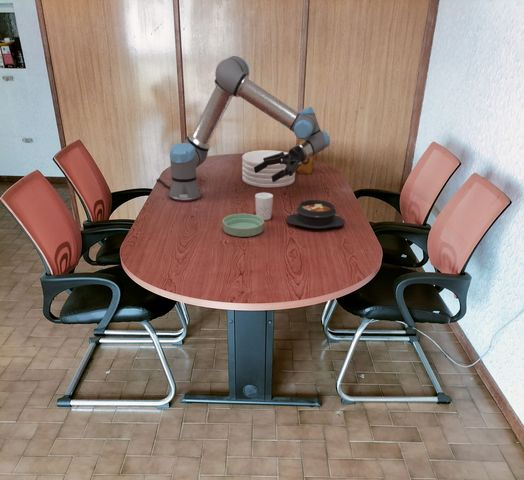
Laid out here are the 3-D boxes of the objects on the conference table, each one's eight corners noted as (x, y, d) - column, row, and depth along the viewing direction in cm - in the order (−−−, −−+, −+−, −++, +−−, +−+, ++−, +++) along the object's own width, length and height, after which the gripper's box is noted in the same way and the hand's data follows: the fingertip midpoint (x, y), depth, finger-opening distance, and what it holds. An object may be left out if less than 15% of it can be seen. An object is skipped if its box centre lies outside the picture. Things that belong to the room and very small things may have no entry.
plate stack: (304, 177, 281) (305, 155, 275) (277, 190, 262) (278, 167, 255) (260, 168, 293) (260, 147, 287) (231, 180, 274) (231, 158, 267)
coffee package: (295, 174, 286) (297, 131, 274) (294, 167, 296) (296, 126, 284) (313, 174, 286) (316, 132, 274) (311, 168, 296) (314, 127, 284)
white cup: (270, 221, 227) (271, 199, 222) (253, 220, 229) (253, 197, 223) (273, 215, 234) (274, 193, 228) (256, 213, 235) (257, 191, 229)
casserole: (286, 231, 218) (287, 212, 214) (286, 215, 234) (287, 197, 229) (345, 233, 218) (348, 214, 213) (342, 217, 233) (344, 199, 228)
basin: (214, 231, 217) (214, 221, 215) (240, 219, 229) (240, 210, 226) (246, 241, 209) (246, 232, 207) (271, 229, 220) (272, 219, 218)
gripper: (319, 168, 230) (281, 191, 224) (285, 153, 246) (249, 174, 240) (316, 152, 225) (278, 175, 219) (282, 138, 241) (245, 159, 235)
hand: (263, 174), depth 230 cm, fingers open, 13 cm apart
